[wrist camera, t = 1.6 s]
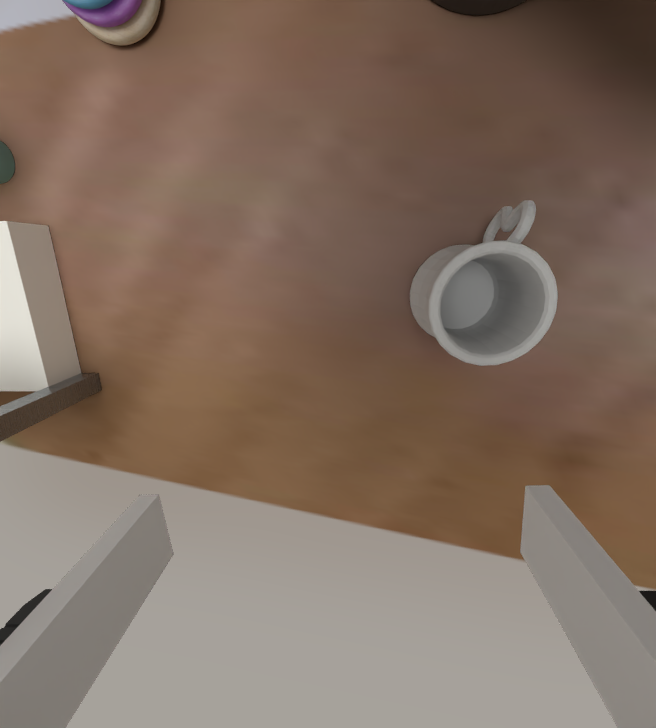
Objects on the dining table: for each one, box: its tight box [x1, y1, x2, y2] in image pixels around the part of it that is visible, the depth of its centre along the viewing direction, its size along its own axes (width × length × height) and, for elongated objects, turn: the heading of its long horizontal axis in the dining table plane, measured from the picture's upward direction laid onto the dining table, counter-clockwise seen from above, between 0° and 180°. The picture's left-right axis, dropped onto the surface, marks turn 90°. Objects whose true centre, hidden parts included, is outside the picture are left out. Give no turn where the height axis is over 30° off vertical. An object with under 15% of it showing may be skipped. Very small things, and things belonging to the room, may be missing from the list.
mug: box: [410, 200, 558, 366], centre depth 30 cm, size 12×9×10 cm
